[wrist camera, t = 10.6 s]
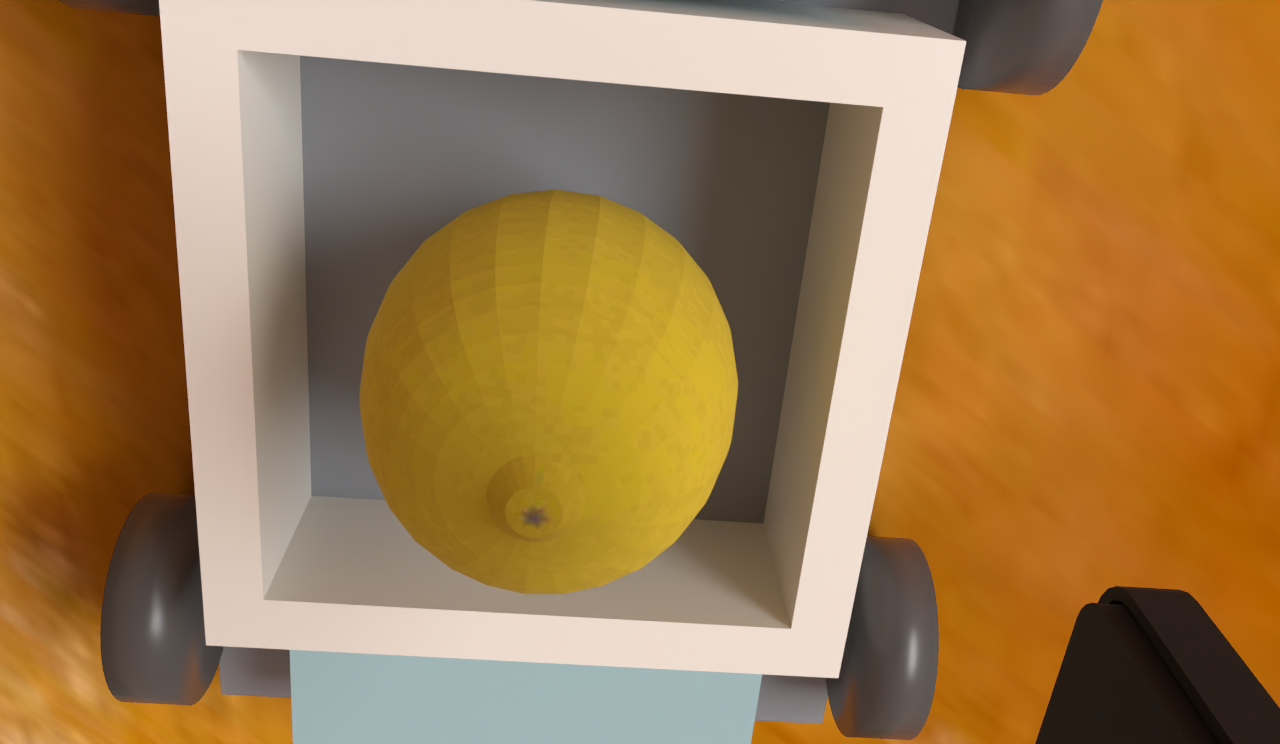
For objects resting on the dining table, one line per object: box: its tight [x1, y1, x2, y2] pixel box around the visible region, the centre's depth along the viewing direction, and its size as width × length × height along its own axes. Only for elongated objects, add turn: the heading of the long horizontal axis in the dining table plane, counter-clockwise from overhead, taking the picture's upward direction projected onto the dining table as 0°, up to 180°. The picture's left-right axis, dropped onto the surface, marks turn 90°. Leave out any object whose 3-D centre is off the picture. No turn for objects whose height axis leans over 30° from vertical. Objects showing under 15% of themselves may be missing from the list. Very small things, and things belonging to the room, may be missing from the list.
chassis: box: [60, 0, 1103, 744], centre depth 20 cm, size 19×15×5 cm
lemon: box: [359, 189, 738, 594], centre depth 17 cm, size 6×6×8 cm
